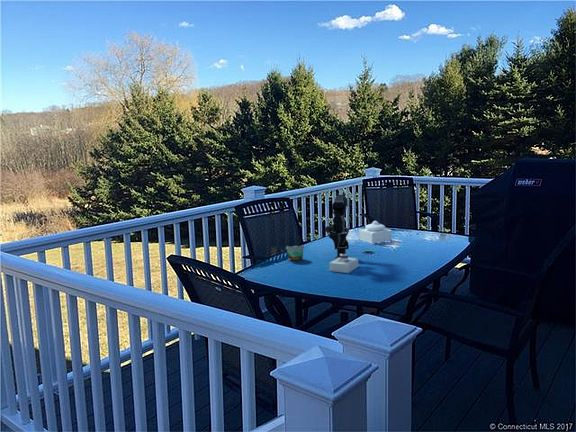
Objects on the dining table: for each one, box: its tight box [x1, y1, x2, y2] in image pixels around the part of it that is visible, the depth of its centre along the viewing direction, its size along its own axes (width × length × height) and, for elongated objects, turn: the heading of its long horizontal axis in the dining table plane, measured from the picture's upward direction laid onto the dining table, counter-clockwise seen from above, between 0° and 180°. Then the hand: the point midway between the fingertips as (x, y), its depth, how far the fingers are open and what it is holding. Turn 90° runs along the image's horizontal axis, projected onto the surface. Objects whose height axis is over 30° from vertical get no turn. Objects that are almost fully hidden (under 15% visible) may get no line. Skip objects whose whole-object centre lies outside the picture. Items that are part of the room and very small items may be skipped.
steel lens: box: [340, 252, 349, 262], centre depth 284 cm, size 5×5×7 cm
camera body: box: [328, 257, 359, 274], centre depth 284 cm, size 16×12×6 cm
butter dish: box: [358, 220, 393, 244], centre depth 358 cm, size 18×18×16 cm
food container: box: [285, 244, 305, 263], centre depth 307 cm, size 12×6×10 cm, turn 105°
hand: (339, 246), depth 293 cm, fingers open, 9 cm apart
